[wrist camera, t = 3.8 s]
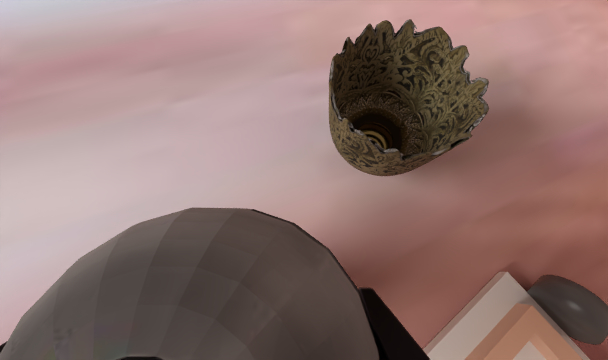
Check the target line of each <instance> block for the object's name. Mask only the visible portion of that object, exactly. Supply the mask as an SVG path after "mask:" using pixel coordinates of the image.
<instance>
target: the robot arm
mask: <svg viewBox="0 0 608 360" xmlns="http://www.w3.org/2000/svg"><path fill="white" fill-rule="evenodd" d="M358 292H359V295H360V297H361V300H362V303H363V306H364V309H365V312H366V315H367V318H368V320H369V323H370V326H371V329H372V332H373V335H374V340H375V343H376V346H377V350H378V355H379V360H431V359H430V358H429V357H428V356H427V355H426V353H425V352H424V351H423V350H422V348H421V347H420V346H419V345H418V344H417V342H416V341H415V340H414V339H413V337H412V336H411V335H410V334H409V333H408V331H407V330H406V329H405V328H404V326H403V325H402V324H401V323H400V322H399V320H398V319H397V318H396V317H395V316H394V314H393V313H392V312H391V311H390V309H389V308H388V307H387V306H386V305H385V303H384V302H383V301H382V300H381V298H380V297H379V296H378V295H377V294H376V292H375V291H374V290H373V289H372V288H359V289H358ZM6 343H7V342H5V343H4V344H2V345H1V346H0V353H1V351H2V350H3V348H4V346H5V345H6Z"/></svg>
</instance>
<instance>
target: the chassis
mask: <svg viewBox="0 0 608 360" xmlns="http://www.w3.org/2000/svg"><path fill="white" fill-rule="evenodd" d="M568 336H570V337H572V338H574V339H576V340H579V341H581V342H584V343H588V344H601V343H602V342H603V341H604V340H605V338H606V337H607V336H608V306H607V304H606V303H604V302H603V301H602V300H601V299H600V298H599V297H598V296H596V295H595V294H593V293H592V292H591V291H589V290H588V289H586V288H584V287H582V286H581V285H579V284H577V283H575V282H573V281H570V280H568V279H565V278H562V277H559V276H554V275H544V276H541V277H540V278H539V279H538V280H537V281H536V282H535V283H534V284H533V286H532V287H531V288H530V289H529V290H528V291H527V292H526V291H525V290H524V289H523V288H522V287H521V286H520V284H519V283H518V282H517V281H516V280H515V279H514V278H513V277H512V276H511V275H510V274H509V273H508V272H498V273H497V274H496V275H495V276H494V277H493V278H492V279H491V280H490V281H489V282H488V283H487V284H486V285H485V286H484V287H483V288H482V289H481V291H480V292H479V293H478V294H477V295H476V296H475V297H474V298H473V299H472V300H471V301H470V302H469V303H468V304H467V305H466V306H465V307H464V308H463V309H462V310H461V311H460V312H459V313H458V314H457V315H456V316H455V317H454V318H453V319H452V320H451V321H450V322H449V323H448V324H447V325H446V326H445V327H444V328H443V329H442V330H441V331H440V332H439V333H438V335H437V336H436V337H435V338H434V339H433V340H432V341H431V342H430V343H429V344H428V345H427V346H426V347H425V348H424V349H423V351H424V352H425V353H426V355H427V356H428V357H429V358H430V359H431V360H590V359H589V358H588V357H587V356H586V355H585V354H584V352H583V351H582V350H581V349H580V348H579V347H578V346H577V345H576V344H575V343H574V342H573V341H572V340H571V339H570V338H569V337H568Z"/></svg>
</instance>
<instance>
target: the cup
mask: <svg viewBox="0 0 608 360" xmlns="http://www.w3.org/2000/svg"><path fill="white" fill-rule="evenodd" d="M414 27H415V25H414V23H413V22H412V20H407V21H406V22H405V23H404V24H403V26H402V27H401V28H400V30H399V31H398V32H397V33H394V29H393V26H392V24H391V23H390V22H389V21H387V20H385V21H382V22H381V23H379V24H377V25H376V27H375V29H373V27H372V25H371V24H368V25H367V27H366V28H365V29H364V30H363V32H362V33H361V35H360V36H359V37H357V39H356V41H355V44H354V43H353V42H352V41H351V39H350V37H347V39H346V41H345V43H344V46H343V50H342V53H340V54H338V53H337V54H336V55H335V56H334V57H333V59H332V63H331V68H330V78H329V124H330V131H331V135H332V139H333V142H334V144H335V146H336V148H337V150H338V152H339V153H340V154H341V156H342V157H343V158H344V159H345V160H346V161H347V162H348V163H349V164H350V165H352V166H353V167H355V168H356V169H358V170H360V171H362V172H365V173H368V174H372V175H377V176H393V175H398V174H402V173H405V172H408V171H411V170H413V169H415V168H418V167H420V166H422V165H424V164H426V163H427V162H429V161H431V160H433V159H435V158H437V157H438V156H440V155H442V154H444V153H445V152H447V151H449V150H451V149H453V148H454V147H455V146H457V145H459V144H461V143H463V142H464V141H466V140H468V139H469V138H470V137H471V136H472V135H471V131H472V130H473V129H474V128H475V127H476V126H477V125H478V124H479V123H480V122H481V121H482V119H483V118H484V117H485V115H486V114H487V112H488V110H489V108H488V104H487V103H486V102H485V101H484V100H483V98H482V96H483V95H484V94H485V92H486V91H487V88H488V83H489V81H488V80H487V79H485V78H476V80H473V81H472V80H471V81H472V82H474V83H471V81H470V72H468V71H466V70H464V68H463V65H464V62H465V60H466V59H467V58H468V57H469V53H468V50H467V47H466V46H464V45H462V46H458V47H455V48H453V46H452V41H451V39H450V37H449V36H448V34H447V33H446V32H445V31H444V30H443V28H441V27H434V28H430V29H427V30H424V31H422V32H416V31H415V32H416V33H414V30H415V29H414ZM415 28H416V27H415ZM416 29H417V28H416ZM395 34H396V35H395ZM465 71H466V72H465Z"/></svg>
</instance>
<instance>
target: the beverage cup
mask: <svg viewBox="0 0 608 360" xmlns="http://www.w3.org/2000/svg"><path fill="white" fill-rule="evenodd" d="M0 360H379V355H378V350H377V346H376V343H375V340H374V335H373V332H372V329H371V326H370V323H369V320H368V318H367V315H366V312H365V309H364V306H363V303H362V300H361V297H360V295H359V292H358V289H357V287H356V286H355V284H354V283H353V281H352V280H351V279H350V277H349V276H348V274H347V273H346V272H345V270H344V269H343V267H342V266H341V265H340V263H339V262H338V260H337V259H336V258H335V256H334V255H333V253H332V252H331V251H330V249H328V248H327V247H326V246H324V245H323V244H322V243H320V242H319V241H318V240H316V239H315V238H314V237H312V236H311V235H310V234H308V233H307V232H306V231H304V230H303V229H302V228H300V227H299V226H298V225H296V224H295V223H292V222H290V221H287V220H284V219H281V218H278V217H275V216H272V215H269V214H266V213H263V212H260V211H257V210H254V209H240V208H189V209H186V210H182V211H179V212H175V213H172V214H168V215H165V216H161V217H158V218H154V219H151V220H147V221H144V222H141V223H139V224H136V225H134V226H132V227H130V228H128V229H127V230H125V231H123V232H122V233H120V234H118V235H117V236H115V237H114V238H112V239H110V240H109V241H107V242H105V243H104V244H102V245H100V246H99V247H97V248H96V249H94V250H92V251H91V252H89V253H87V254H86V255H84V256H83V257H81V258H80V259H79V260H78V261H76V262H75V263H74V264H73V265H72V266H71V267H70V268H69V269H68V270H67V271H66V272H65V273H64V274H63V275H62V276H61V277H60V278H59V279H58V280H57V281H56V282H55V283H54V284H53V285H52V286H51V287H50V288H49V289H48V291H47V292H46V293H45V294H44V295H43V296H42V297H41V298H40V299H39V300H38V301H37V302H36V303H35V304H34V305H33V306H32V307H31V308H30V309H29V310H28V311H27V312H26V313H25V314H24V315H23V316H22V318H21V319H20V321H19V323H18V324H17V326H16V328H15V329H14V331H13V333H12V335H11V336H10V338H9V340H8V341H7V343H6V345H5V346H4V348H3V350H2V351H1V353H0Z"/></svg>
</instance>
